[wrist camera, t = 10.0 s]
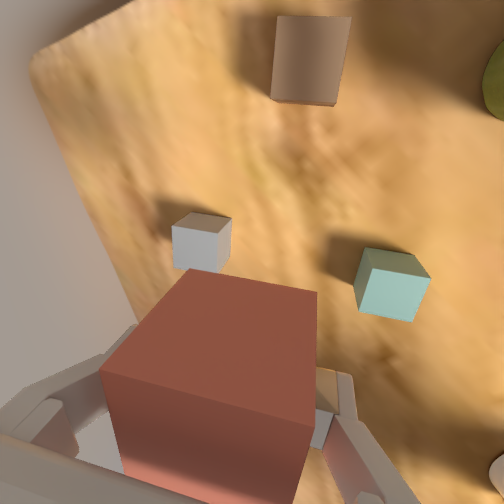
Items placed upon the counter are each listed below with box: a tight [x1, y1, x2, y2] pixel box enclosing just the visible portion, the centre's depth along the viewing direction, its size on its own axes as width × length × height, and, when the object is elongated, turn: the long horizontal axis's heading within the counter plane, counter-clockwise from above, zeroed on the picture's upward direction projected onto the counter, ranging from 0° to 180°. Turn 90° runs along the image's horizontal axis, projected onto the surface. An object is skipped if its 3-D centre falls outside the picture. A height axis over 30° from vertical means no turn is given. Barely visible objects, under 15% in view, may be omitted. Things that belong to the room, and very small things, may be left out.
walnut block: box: [270, 16, 352, 107], centre depth 22 cm, size 5×5×5 cm
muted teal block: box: [353, 247, 431, 322], centre depth 28 cm, size 5×5×5 cm
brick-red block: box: [99, 268, 317, 504], centre depth 9 cm, size 5×5×5 cm
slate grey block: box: [172, 212, 232, 273], centre depth 31 cm, size 5×5×5 cm
